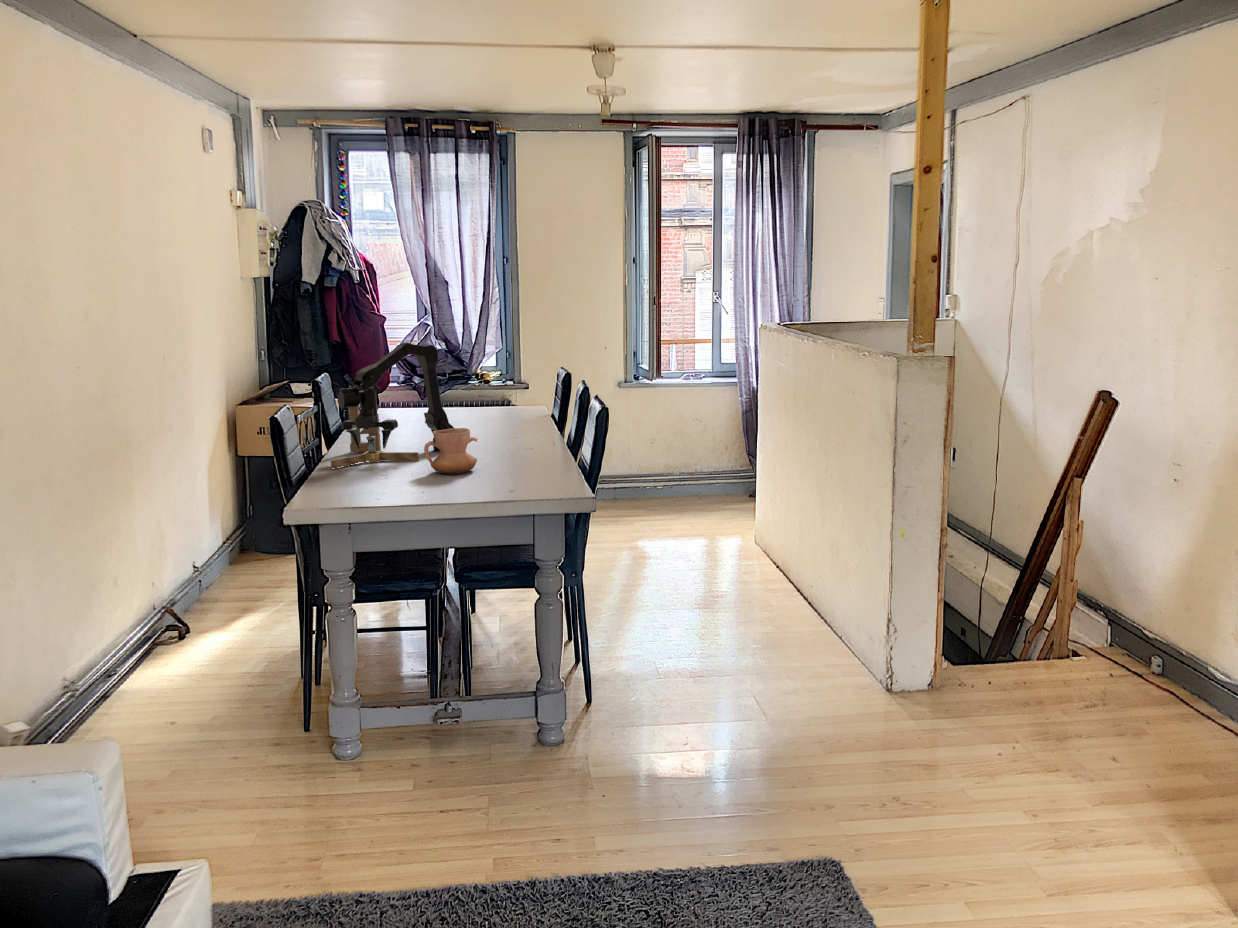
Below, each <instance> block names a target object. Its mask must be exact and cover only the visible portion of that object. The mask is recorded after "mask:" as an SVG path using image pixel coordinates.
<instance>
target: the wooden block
mask: <svg viewBox="0 0 1238 928" xmlns="http://www.w3.org/2000/svg"><path fill="white" fill-rule="evenodd" d="M347 409H348V418H349V419H348V420H355V419H356V418H357V416H358V415H359V405H358V406H357V407H348V408H347ZM378 418H379V414H378ZM379 419H380V418H379ZM378 422H380V420H379V421H378ZM380 431H381V430H380V427H370V428H369V429H362V430H360V441H361V440H362V439H361V435H368V436H376V439H375V451H382V446H381V433H380ZM349 434H350V433H349ZM349 450H350V453H351V452H366V451H368V441H361V447H360V449H358V447H357V445H356V442H355V440H354V438H353V436H352V435H351V434H350V443H349Z"/></svg>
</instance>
